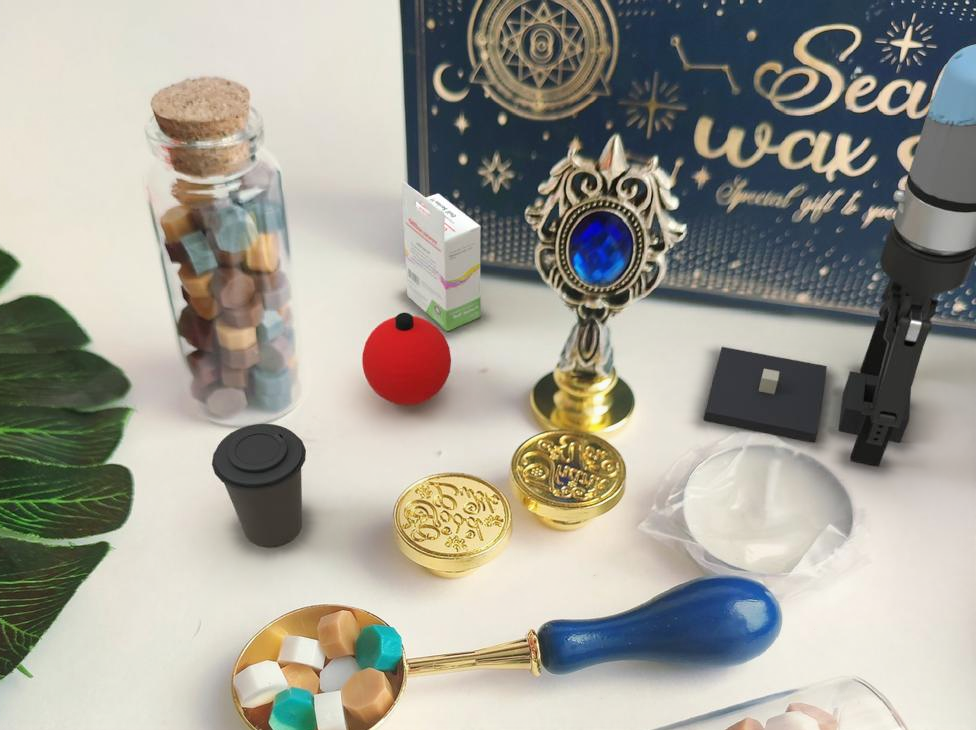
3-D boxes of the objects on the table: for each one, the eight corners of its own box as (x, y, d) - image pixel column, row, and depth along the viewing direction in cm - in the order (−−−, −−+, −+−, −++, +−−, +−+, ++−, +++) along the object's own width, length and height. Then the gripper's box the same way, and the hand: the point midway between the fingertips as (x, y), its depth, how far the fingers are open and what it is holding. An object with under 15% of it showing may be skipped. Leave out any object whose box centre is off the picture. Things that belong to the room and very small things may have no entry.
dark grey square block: (842, 393, 112) (850, 370, 109) (903, 404, 110) (911, 382, 108) (838, 430, 108) (845, 408, 106) (900, 443, 106) (909, 420, 104)
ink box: (483, 318, 121) (484, 200, 110) (446, 333, 119) (443, 215, 108) (441, 281, 126) (437, 165, 115) (405, 295, 124) (398, 178, 113)
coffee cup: (332, 509, 101) (321, 430, 94) (288, 570, 96) (273, 491, 89) (258, 484, 103) (242, 405, 96) (211, 542, 98) (190, 464, 91)
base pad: (719, 355, 116) (724, 332, 114) (824, 374, 114) (831, 352, 112) (703, 420, 109) (707, 397, 107) (814, 442, 107) (821, 420, 104)
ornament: (377, 362, 116) (370, 284, 108) (459, 372, 115) (458, 293, 107) (356, 417, 110) (347, 339, 102) (442, 428, 109) (440, 349, 101)
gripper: (897, 157, 102) (840, 335, 118) (883, 307, 86) (819, 491, 102) (980, 169, 101) (912, 349, 116) (982, 325, 85) (902, 509, 100)
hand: (868, 416), depth 109 cm, fingers open, 13 cm apart
